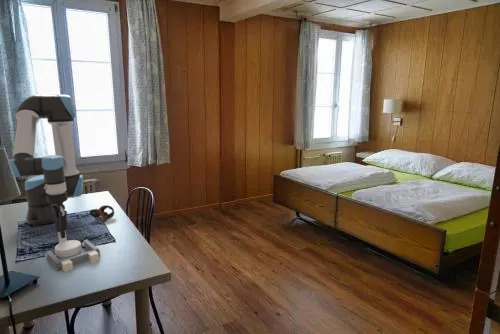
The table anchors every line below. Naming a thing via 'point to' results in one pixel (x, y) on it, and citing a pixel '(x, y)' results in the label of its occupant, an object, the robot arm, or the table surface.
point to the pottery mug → (102, 213)
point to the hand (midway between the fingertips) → (63, 244)
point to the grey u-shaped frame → (75, 257)
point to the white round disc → (68, 248)
